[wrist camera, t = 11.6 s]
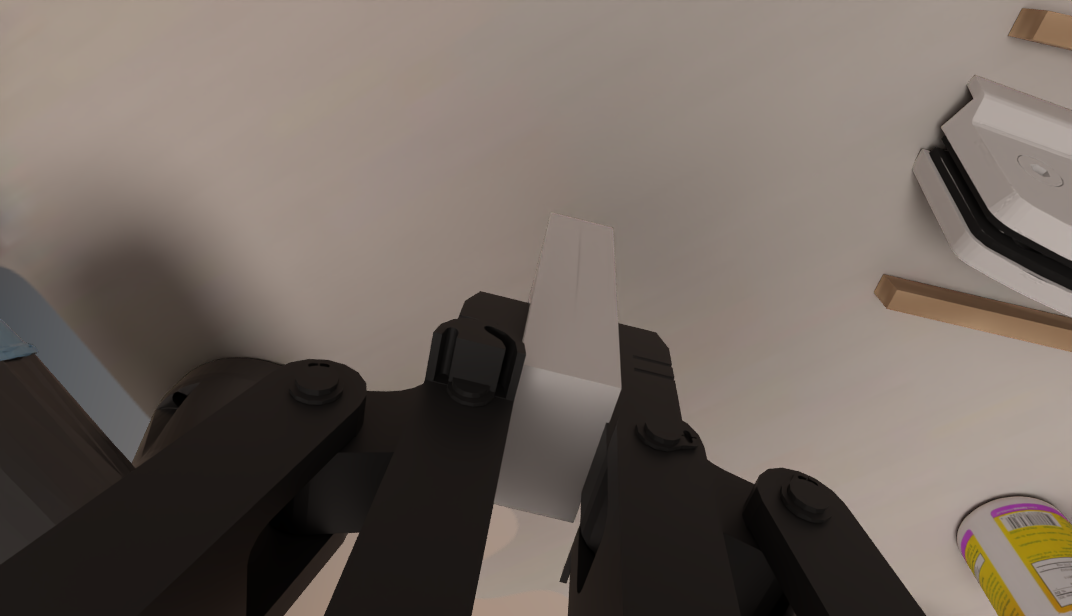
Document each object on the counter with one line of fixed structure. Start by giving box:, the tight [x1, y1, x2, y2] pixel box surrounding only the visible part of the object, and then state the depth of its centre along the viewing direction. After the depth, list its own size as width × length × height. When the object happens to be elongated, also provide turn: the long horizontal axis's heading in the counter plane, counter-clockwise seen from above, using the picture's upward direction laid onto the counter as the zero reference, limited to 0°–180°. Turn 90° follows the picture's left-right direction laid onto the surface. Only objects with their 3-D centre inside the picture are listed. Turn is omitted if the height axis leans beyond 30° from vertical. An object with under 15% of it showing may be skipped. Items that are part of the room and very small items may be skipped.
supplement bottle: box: [957, 496, 1072, 616], centre depth 38 cm, size 7×7×13 cm
